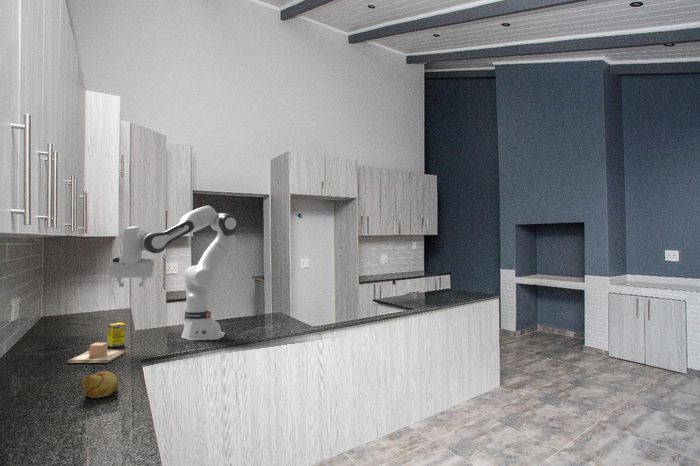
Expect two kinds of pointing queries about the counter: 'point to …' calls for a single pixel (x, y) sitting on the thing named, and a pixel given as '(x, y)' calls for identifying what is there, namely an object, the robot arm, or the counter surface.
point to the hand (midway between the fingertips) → (131, 286)
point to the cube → (98, 349)
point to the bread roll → (100, 384)
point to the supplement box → (116, 335)
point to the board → (104, 359)
